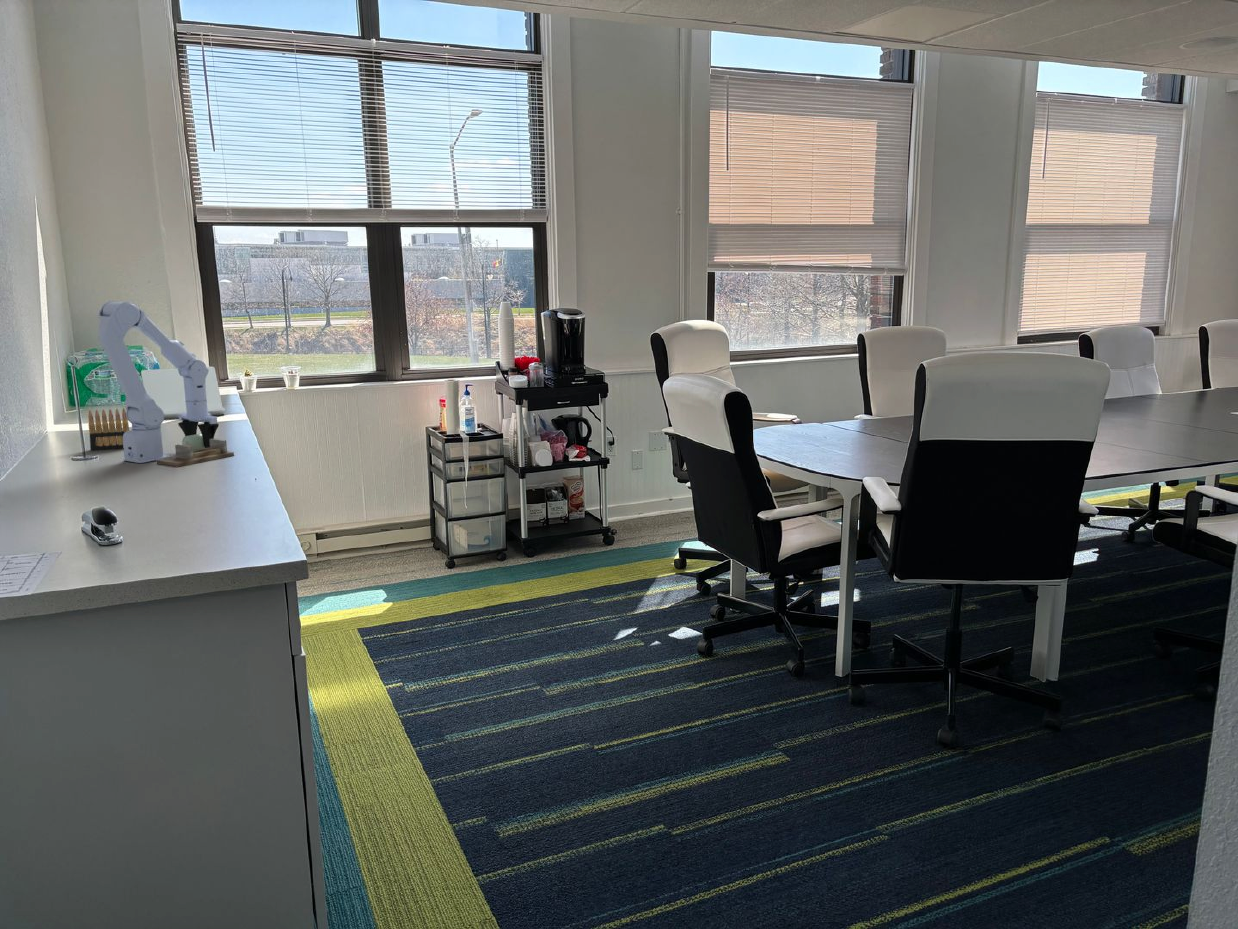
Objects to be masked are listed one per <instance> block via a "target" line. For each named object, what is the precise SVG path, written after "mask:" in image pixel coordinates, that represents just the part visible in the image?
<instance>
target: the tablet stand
mask: <svg viewBox="0 0 1238 929" xmlns="http://www.w3.org/2000/svg"><path fill="white" fill-rule="evenodd" d="M206 367H207V369H209V372H208V375H207V376H206V379H205V380H206V383H205V384H206V395H207V407H208V414H211V416H220V415H222V414H224V415H225V414H226V409H225V408H224V407H223V403H222V398H221V393H220V387H219V383H218V379H217V378H218V377H217V374H216V368H215V367H214V366H206ZM140 375H141V381H142V383H143V385H144V388H145V390H146V392H147V393H148V394H149V395H150V396H151V397H152V398H153V399H154V401H155V403H156V405H157V406H158V407H160V408H161V409H162V410H163V412H164V420H169V419H179V414H182V413H187V412H186V401H185V390H184V379H183V376H181V375H180V374H179V372H178V369H177V368H176V367H175V368H158V369H142V370H141V372H140Z"/></svg>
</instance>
